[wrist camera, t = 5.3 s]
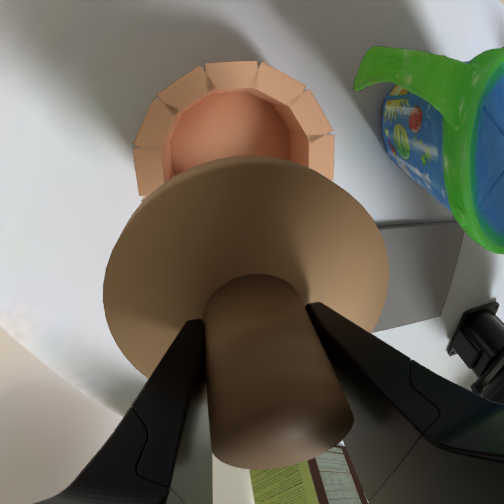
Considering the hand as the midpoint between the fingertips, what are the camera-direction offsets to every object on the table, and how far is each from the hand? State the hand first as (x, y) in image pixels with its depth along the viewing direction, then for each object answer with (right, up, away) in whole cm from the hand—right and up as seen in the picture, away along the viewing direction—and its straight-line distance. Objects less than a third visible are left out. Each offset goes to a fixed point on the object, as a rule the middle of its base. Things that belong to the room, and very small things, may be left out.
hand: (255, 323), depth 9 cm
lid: (0, +1, +1) cm, 2 cm away
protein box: (+5, -30, +30) cm, 42 cm away
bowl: (-1, +8, +10) cm, 13 cm away
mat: (+13, 0, +16) cm, 21 cm away
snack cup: (+12, +11, +10) cm, 19 cm away
